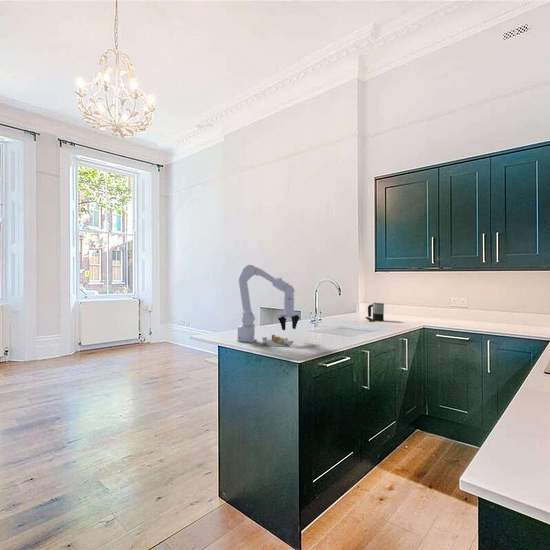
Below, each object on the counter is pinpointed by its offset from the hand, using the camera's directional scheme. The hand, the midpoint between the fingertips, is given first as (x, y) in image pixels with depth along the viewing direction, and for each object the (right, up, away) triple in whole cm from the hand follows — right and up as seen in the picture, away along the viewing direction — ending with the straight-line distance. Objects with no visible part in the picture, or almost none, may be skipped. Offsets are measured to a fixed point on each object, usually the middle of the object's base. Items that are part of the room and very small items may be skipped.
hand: (288, 329), depth 205 cm
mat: (-7, -7, -6) cm, 11 cm away
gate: (-6, -6, -6) cm, 11 cm away
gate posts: (-8, -7, -11) cm, 16 cm away
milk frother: (+76, -7, +93) cm, 120 cm away
